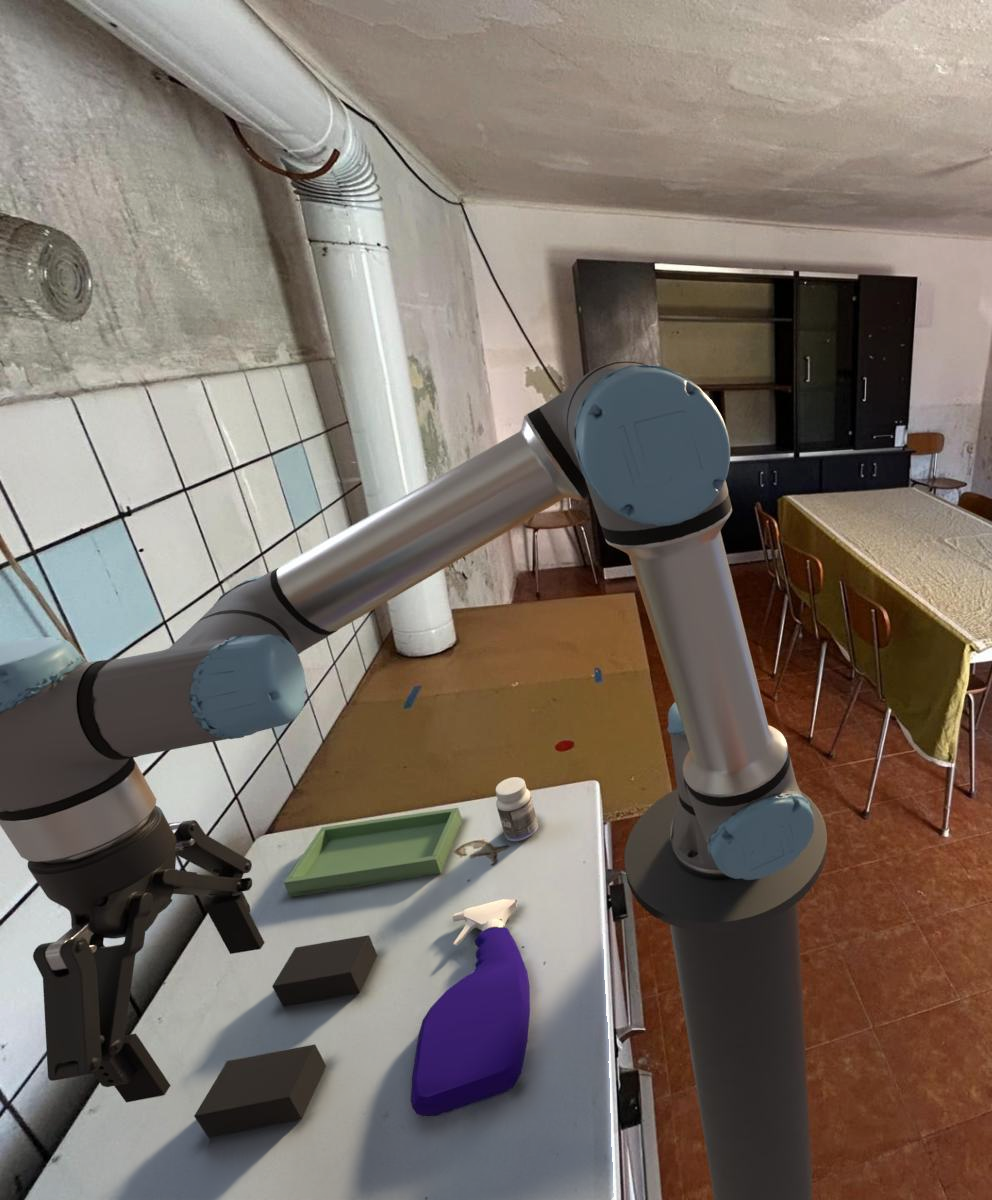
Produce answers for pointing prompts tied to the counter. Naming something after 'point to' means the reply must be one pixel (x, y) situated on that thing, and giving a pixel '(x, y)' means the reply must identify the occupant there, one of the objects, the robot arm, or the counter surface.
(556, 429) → the robot arm
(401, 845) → the tray
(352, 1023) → the counter surface
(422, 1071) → the spray bottle
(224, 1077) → the pad
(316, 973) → the dark brown rectangular block
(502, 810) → the pill bottle
